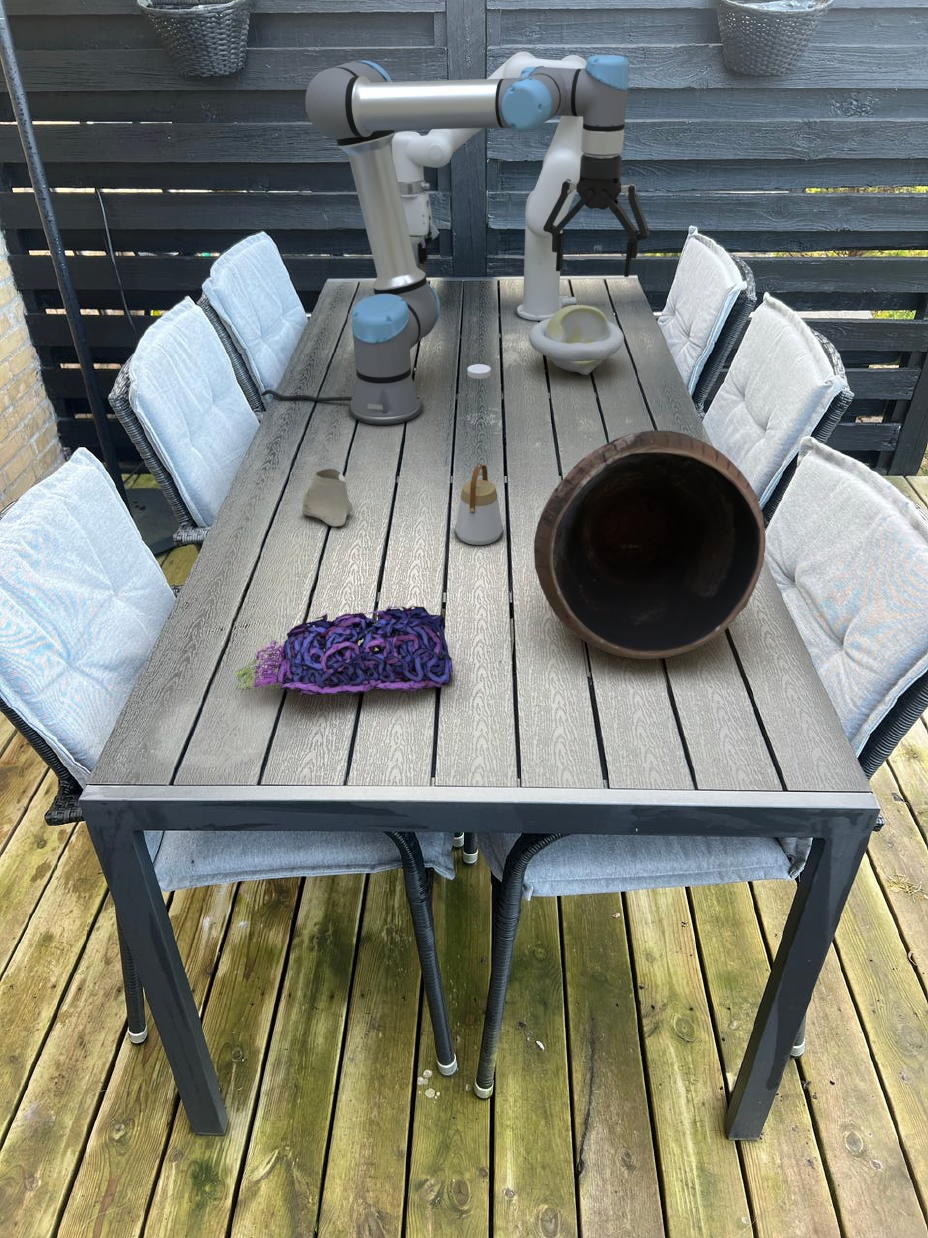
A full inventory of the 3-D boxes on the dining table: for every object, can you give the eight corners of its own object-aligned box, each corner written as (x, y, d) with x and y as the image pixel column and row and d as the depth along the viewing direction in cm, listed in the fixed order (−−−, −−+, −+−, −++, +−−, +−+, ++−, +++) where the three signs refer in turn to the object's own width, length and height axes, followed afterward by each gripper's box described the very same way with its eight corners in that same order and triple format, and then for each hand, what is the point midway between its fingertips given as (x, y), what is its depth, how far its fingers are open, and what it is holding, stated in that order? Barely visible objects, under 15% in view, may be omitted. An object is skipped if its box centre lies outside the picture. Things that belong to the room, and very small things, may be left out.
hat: (520, 351, 228) (521, 289, 219) (607, 347, 230) (612, 285, 221) (537, 392, 209) (540, 327, 200) (632, 387, 211) (639, 322, 202)
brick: (419, 281, 244) (417, 244, 238) (401, 279, 245) (399, 243, 239) (426, 273, 249) (425, 237, 243) (409, 272, 250) (407, 236, 244)
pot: (569, 390, 148) (614, 390, 119) (739, 473, 153) (822, 494, 124) (483, 572, 154) (505, 616, 125) (649, 647, 159) (708, 705, 130)
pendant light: (493, 549, 158) (495, 382, 140) (448, 540, 161) (445, 375, 142) (508, 525, 164) (512, 362, 146) (465, 517, 167) (463, 355, 148)
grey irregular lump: (352, 523, 169) (358, 468, 167) (345, 530, 162) (351, 474, 159) (303, 516, 169) (308, 461, 167) (294, 523, 162) (299, 466, 159)
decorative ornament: (458, 672, 122) (225, 684, 119) (455, 713, 130) (238, 725, 128) (450, 592, 130) (231, 602, 127) (447, 636, 138) (243, 646, 135)
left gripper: (672, 153, 170) (659, 271, 183) (540, 146, 176) (535, 261, 189) (667, 161, 165) (653, 283, 178) (530, 154, 171) (526, 272, 184)
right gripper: (446, 184, 234) (448, 259, 245) (382, 182, 238) (387, 255, 249) (437, 192, 229) (440, 267, 240) (372, 189, 233) (378, 263, 244)
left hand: (592, 272), depth 183 cm, fingers open, 13 cm apart
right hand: (413, 260), depth 244 cm, fingers closed on brick, 4 cm apart
